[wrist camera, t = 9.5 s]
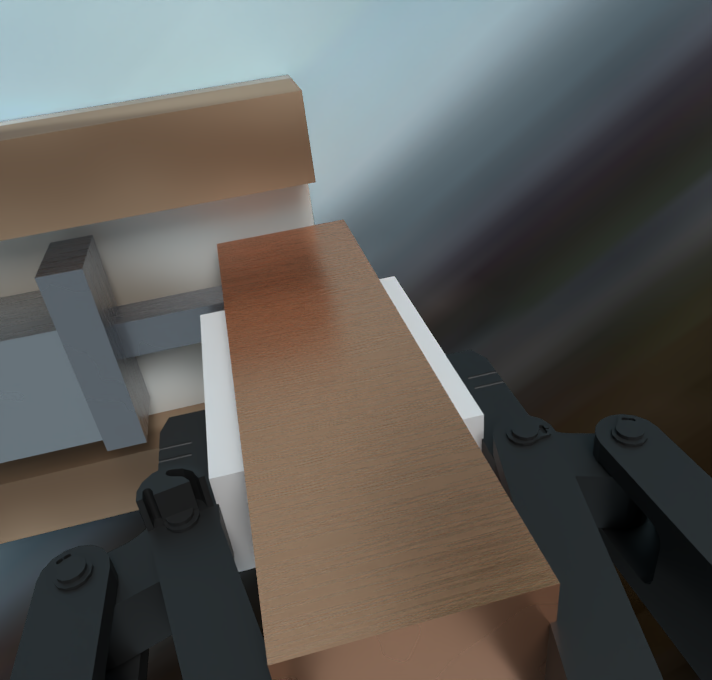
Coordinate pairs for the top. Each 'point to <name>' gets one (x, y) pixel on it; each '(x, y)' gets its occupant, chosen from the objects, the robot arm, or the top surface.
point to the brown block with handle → (331, 461)
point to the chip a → (37, 384)
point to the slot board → (142, 247)
